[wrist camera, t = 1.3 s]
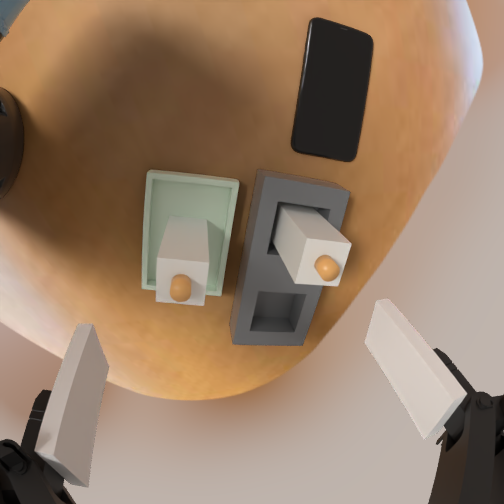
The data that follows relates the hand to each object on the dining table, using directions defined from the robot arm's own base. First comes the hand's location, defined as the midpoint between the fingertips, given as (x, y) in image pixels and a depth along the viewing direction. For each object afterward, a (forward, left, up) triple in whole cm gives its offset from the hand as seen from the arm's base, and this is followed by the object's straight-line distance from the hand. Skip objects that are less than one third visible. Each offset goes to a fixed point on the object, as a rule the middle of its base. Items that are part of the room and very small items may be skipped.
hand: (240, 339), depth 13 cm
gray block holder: (+8, -6, -21) cm, 23 cm away
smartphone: (+10, +15, -22) cm, 28 cm away
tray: (-3, -4, -21) cm, 22 cm away
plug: (-3, -4, -21) cm, 21 cm away
